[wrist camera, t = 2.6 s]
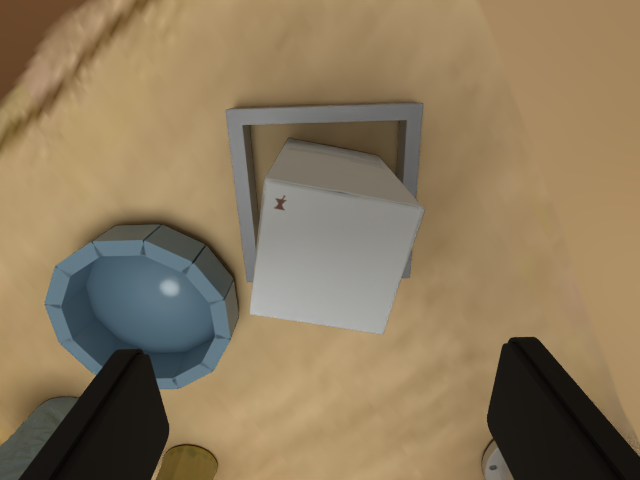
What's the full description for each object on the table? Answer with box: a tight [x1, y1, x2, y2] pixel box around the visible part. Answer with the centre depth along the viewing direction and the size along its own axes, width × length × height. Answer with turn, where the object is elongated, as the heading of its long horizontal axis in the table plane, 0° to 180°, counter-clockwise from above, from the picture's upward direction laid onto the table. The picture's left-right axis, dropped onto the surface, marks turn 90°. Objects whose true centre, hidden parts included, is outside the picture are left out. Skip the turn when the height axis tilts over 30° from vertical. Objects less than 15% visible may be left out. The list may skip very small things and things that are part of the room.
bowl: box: [45, 224, 239, 389], centre depth 30 cm, size 14×14×4 cm
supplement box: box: [249, 138, 425, 334], centre depth 23 cm, size 7×7×13 cm
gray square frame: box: [226, 102, 423, 282], centre depth 27 cm, size 13×13×2 cm
